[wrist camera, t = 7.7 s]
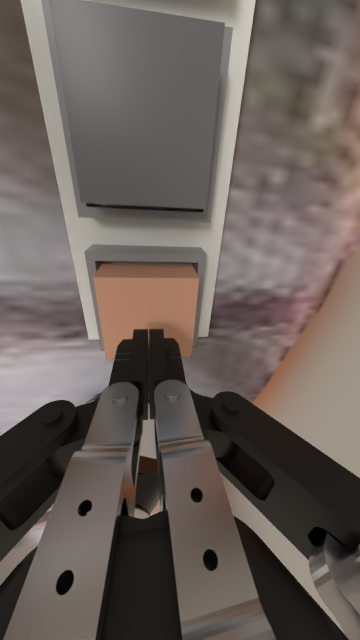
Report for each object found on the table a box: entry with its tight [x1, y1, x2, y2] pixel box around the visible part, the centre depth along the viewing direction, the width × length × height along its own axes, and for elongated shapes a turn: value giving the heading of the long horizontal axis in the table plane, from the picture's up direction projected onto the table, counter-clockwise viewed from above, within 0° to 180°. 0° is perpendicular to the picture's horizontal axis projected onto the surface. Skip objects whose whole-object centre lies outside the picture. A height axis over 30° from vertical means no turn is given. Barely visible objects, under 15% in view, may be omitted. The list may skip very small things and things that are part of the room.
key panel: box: [21, 0, 256, 351], centre depth 12 cm, size 26×10×4 cm, turn 177°
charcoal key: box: [49, 0, 225, 209], centre depth 9 cm, size 6×6×2 cm
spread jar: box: [86, 395, 160, 519], centre depth 22 cm, size 12×11×12 cm
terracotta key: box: [93, 264, 199, 360], centre depth 14 cm, size 6×6×2 cm
